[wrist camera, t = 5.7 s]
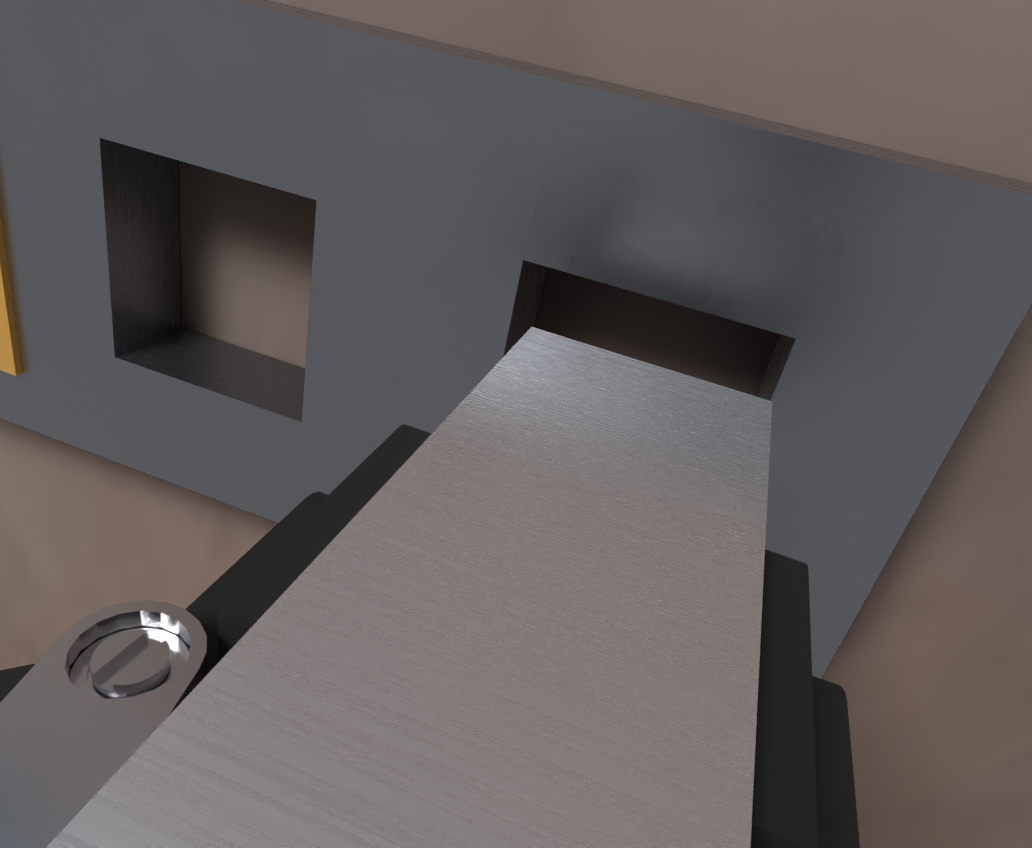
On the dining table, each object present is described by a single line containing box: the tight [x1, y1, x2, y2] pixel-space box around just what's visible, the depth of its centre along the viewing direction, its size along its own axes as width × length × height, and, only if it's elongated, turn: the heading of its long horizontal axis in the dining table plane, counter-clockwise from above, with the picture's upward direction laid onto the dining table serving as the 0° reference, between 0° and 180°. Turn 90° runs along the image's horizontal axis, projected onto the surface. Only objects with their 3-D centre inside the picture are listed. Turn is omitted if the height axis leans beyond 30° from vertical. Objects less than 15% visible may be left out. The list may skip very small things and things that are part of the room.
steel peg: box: [46, 327, 772, 848], centre depth 9 cm, size 4×4×10 cm
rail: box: [0, 0, 1032, 679], centre depth 18 cm, size 32×12×3 cm, turn 78°
